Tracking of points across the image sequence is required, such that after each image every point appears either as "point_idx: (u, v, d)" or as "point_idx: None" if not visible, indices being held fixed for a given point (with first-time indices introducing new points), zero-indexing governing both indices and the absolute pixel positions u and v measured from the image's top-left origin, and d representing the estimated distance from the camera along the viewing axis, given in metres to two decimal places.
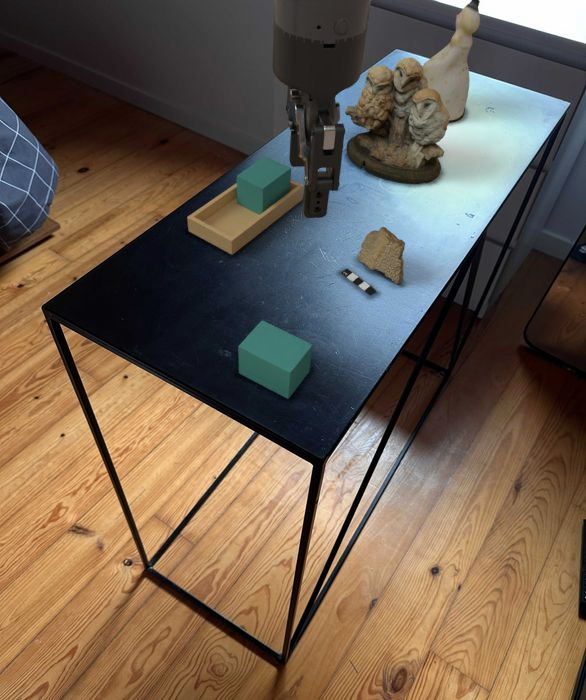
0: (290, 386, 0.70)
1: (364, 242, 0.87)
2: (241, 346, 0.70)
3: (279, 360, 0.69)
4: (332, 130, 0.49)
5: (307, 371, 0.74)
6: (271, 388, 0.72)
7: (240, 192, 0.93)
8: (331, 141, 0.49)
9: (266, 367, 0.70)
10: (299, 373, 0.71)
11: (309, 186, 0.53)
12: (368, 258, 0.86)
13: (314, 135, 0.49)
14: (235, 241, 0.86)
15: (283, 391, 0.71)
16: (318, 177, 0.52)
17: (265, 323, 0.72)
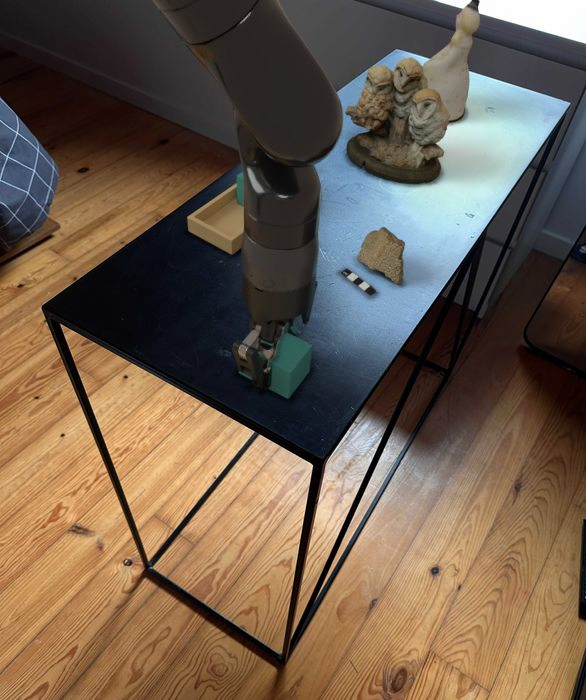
0: (290, 386, 0.70)
1: (364, 242, 0.87)
2: None
3: (279, 360, 0.69)
4: (243, 352, 0.62)
5: (307, 371, 0.74)
6: (271, 388, 0.72)
7: (240, 192, 0.93)
8: (244, 357, 0.63)
9: None
10: (299, 373, 0.71)
11: None
12: (368, 258, 0.86)
13: None
14: (235, 241, 0.86)
15: (283, 391, 0.71)
16: None
17: None
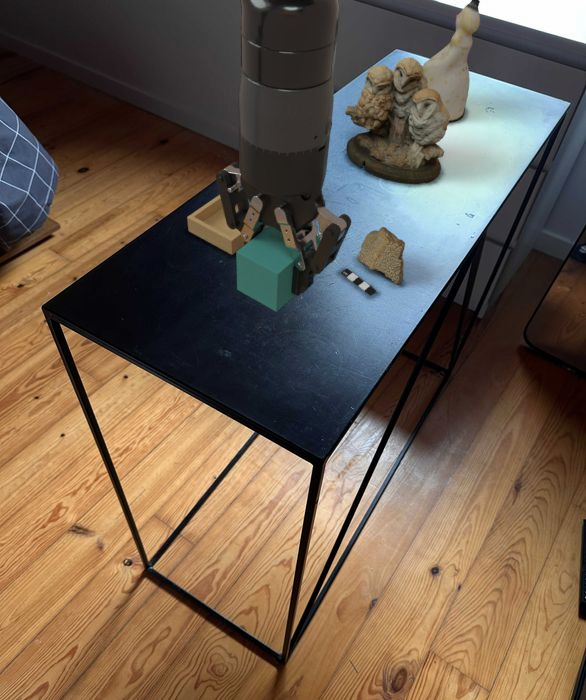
0: None
1: (364, 242, 0.87)
2: (278, 271, 0.57)
3: None
4: (344, 225, 0.53)
5: None
6: None
7: None
8: (342, 233, 0.54)
9: None
10: None
11: (317, 270, 0.56)
12: (368, 258, 0.86)
13: (333, 236, 0.52)
14: (235, 241, 0.86)
15: None
16: None
17: (242, 249, 0.58)
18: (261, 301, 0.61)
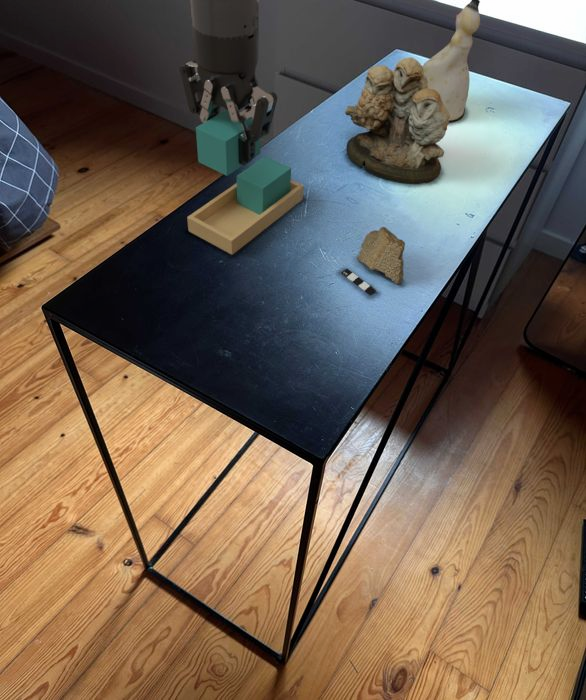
0: None
1: (364, 242, 0.87)
2: (226, 139, 0.76)
3: (246, 123, 0.79)
4: (271, 99, 0.72)
5: None
6: None
7: (240, 192, 0.93)
8: (271, 106, 0.73)
9: None
10: None
11: (254, 138, 0.76)
12: (368, 258, 0.86)
13: (263, 106, 0.72)
14: (235, 241, 0.86)
15: (257, 149, 0.82)
16: None
17: (200, 125, 0.78)
18: (216, 168, 0.80)
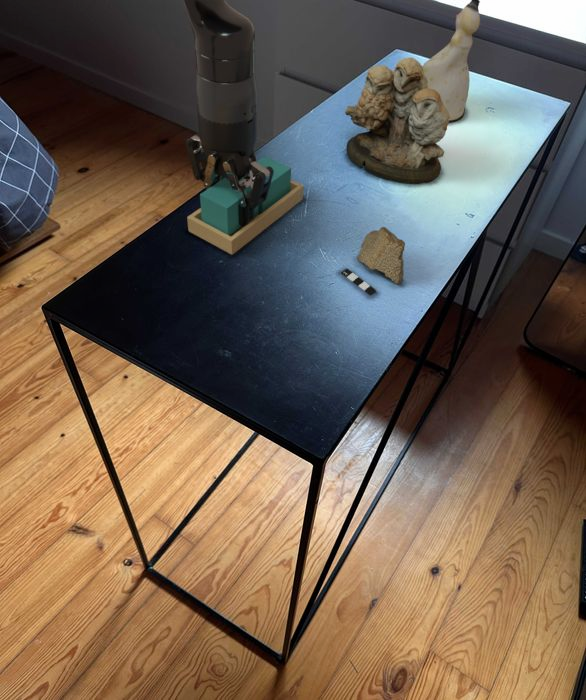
0: None
1: (364, 242, 0.87)
2: (227, 206, 0.84)
3: (245, 189, 0.87)
4: (268, 173, 0.80)
5: None
6: None
7: None
8: (268, 179, 0.81)
9: None
10: None
11: (253, 205, 0.84)
12: (368, 258, 0.86)
13: (260, 180, 0.80)
14: (235, 241, 0.86)
15: (255, 210, 0.90)
16: None
17: (204, 192, 0.86)
18: None
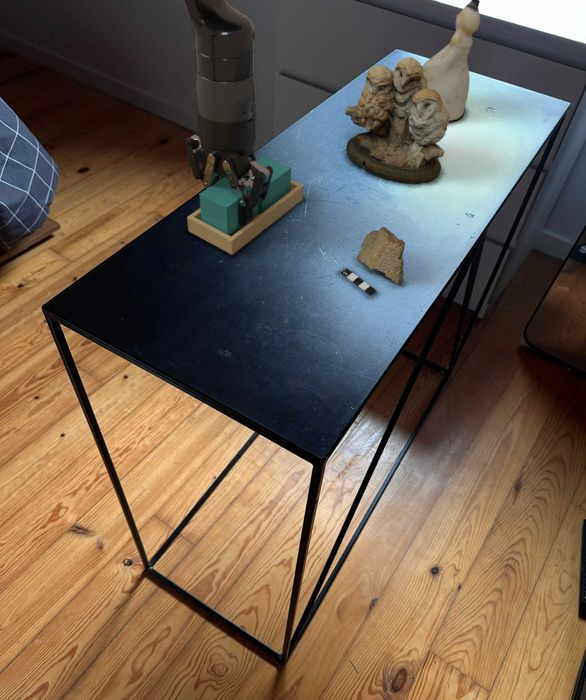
0: None
1: (364, 242, 0.87)
2: (227, 206, 0.84)
3: None
4: (268, 173, 0.80)
5: None
6: None
7: None
8: (267, 178, 0.81)
9: None
10: None
11: (252, 205, 0.84)
12: (368, 258, 0.86)
13: (260, 179, 0.80)
14: (235, 241, 0.86)
15: (255, 210, 0.90)
16: None
17: (203, 192, 0.86)
18: None
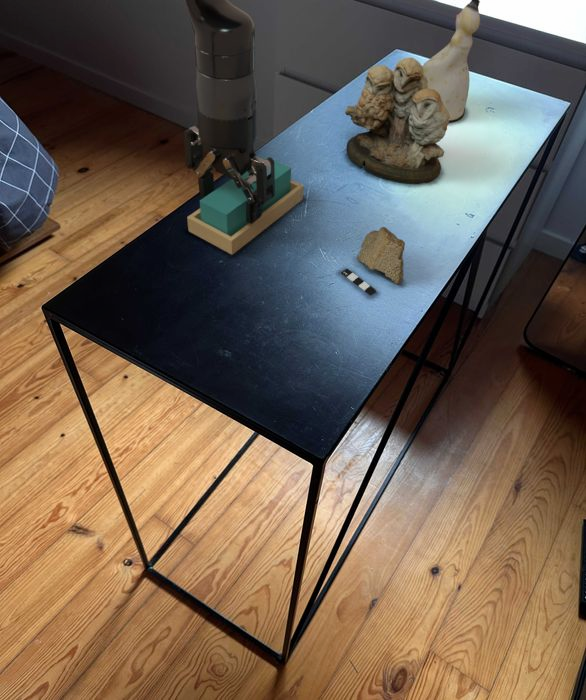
0: None
1: (364, 242, 0.87)
2: (227, 212, 0.85)
3: None
4: (268, 163, 0.79)
5: None
6: None
7: None
8: (269, 170, 0.80)
9: (244, 208, 0.88)
10: None
11: (261, 202, 0.82)
12: (368, 258, 0.86)
13: (261, 171, 0.79)
14: (235, 241, 0.86)
15: None
16: None
17: (204, 199, 0.87)
18: None
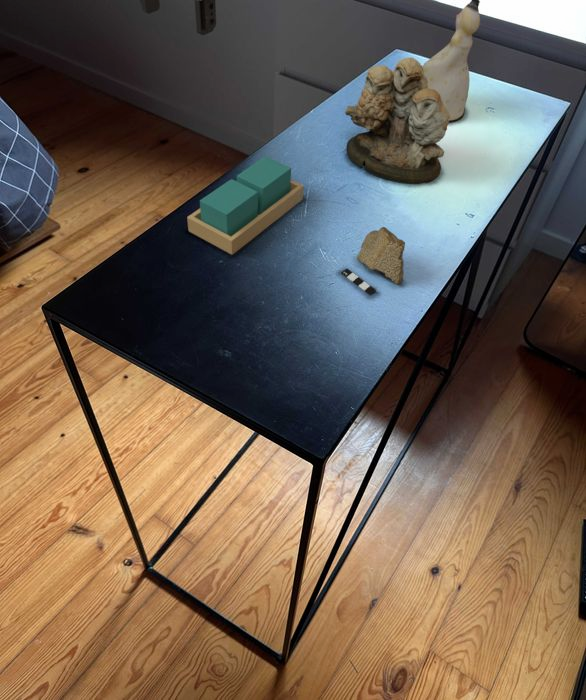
0: (256, 206, 0.91)
1: (364, 242, 0.87)
2: (227, 212, 0.85)
3: (245, 195, 0.88)
4: None
5: None
6: None
7: None
8: None
9: (244, 208, 0.88)
10: None
11: None
12: (368, 258, 0.86)
13: None
14: (235, 241, 0.86)
15: (254, 216, 0.91)
16: None
17: (204, 199, 0.87)
18: None
